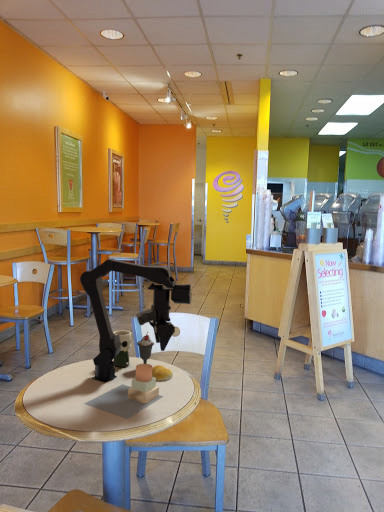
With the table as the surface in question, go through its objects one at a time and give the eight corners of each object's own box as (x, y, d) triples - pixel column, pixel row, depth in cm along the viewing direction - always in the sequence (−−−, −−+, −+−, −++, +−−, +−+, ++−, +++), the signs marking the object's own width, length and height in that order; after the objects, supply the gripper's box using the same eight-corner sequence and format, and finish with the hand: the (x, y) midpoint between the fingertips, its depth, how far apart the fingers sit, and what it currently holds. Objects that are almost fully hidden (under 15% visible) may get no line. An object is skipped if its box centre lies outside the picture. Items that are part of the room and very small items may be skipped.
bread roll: (159, 384, 142) (159, 373, 142) (144, 376, 149) (145, 365, 148) (177, 378, 147) (178, 368, 147) (162, 371, 154) (163, 361, 154)
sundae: (146, 373, 151) (147, 334, 150) (132, 369, 154) (133, 330, 153) (157, 368, 156) (158, 330, 155) (143, 364, 160) (144, 327, 159)
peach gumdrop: (132, 379, 128) (132, 367, 128) (142, 374, 133) (142, 362, 132) (145, 383, 126) (145, 370, 125) (155, 378, 130) (155, 365, 130)
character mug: (119, 371, 152) (119, 337, 151) (104, 367, 156) (105, 334, 155) (137, 363, 161) (138, 331, 160) (123, 359, 165) (124, 328, 164)
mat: (84, 404, 124) (84, 403, 124) (122, 385, 139) (122, 384, 139) (127, 420, 115) (127, 418, 115) (163, 397, 131) (163, 396, 131)
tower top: (131, 388, 128) (131, 379, 128) (142, 383, 133) (142, 374, 133) (145, 392, 126) (145, 383, 125) (155, 386, 130) (156, 377, 130)
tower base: (127, 398, 128) (128, 389, 128) (141, 390, 134) (141, 381, 134) (145, 403, 125) (146, 394, 125) (158, 395, 131) (159, 386, 131)
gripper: (134, 297, 147) (133, 340, 148) (141, 308, 129) (140, 356, 130) (164, 297, 150) (163, 338, 151) (175, 308, 132) (174, 354, 133)
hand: (160, 346), depth 141 cm, fingers open, 9 cm apart
